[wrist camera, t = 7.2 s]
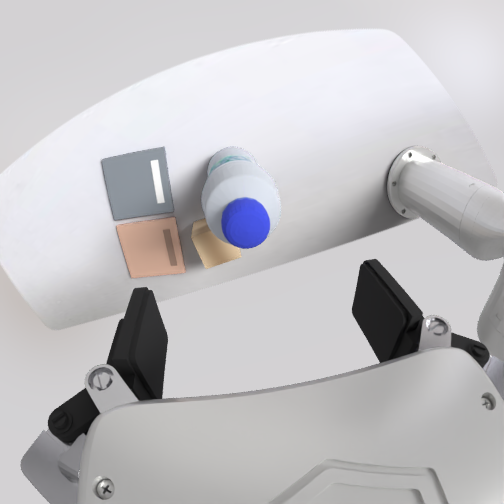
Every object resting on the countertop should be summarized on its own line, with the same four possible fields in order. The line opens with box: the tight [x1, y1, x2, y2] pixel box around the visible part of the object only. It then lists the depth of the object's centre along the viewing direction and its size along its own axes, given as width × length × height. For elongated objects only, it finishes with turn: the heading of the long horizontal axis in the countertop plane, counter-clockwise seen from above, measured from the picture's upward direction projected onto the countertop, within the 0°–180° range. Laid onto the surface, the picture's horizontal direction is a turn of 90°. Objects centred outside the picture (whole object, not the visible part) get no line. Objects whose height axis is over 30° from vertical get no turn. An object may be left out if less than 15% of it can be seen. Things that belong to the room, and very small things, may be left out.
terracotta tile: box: [116, 217, 186, 278], centre depth 39 cm, size 9×9×1 cm
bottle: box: [201, 147, 281, 249], centre depth 27 cm, size 7×7×20 cm
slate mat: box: [102, 147, 174, 220], centre depth 34 cm, size 9×9×1 cm
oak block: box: [191, 218, 241, 269], centre depth 38 cm, size 5×5×5 cm
